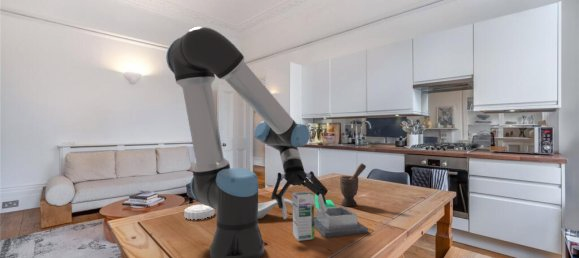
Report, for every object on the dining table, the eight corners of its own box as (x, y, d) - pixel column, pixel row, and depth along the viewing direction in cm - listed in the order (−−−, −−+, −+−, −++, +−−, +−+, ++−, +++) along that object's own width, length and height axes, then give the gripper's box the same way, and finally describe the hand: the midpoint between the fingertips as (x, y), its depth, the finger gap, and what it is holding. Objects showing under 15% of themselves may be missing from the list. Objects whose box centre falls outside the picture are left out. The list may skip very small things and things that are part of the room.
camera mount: (336, 213, 110) (336, 189, 110) (319, 213, 109) (319, 189, 109) (330, 205, 122) (330, 183, 122) (314, 205, 121) (314, 183, 121)
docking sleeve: (325, 237, 83) (324, 221, 84) (308, 221, 99) (308, 207, 99) (367, 232, 88) (367, 216, 88) (345, 217, 103) (345, 204, 103)
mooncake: (180, 215, 107) (180, 206, 107) (207, 209, 115) (207, 201, 115) (190, 222, 98) (190, 213, 98) (219, 216, 106) (219, 207, 106)
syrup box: (297, 241, 81) (297, 195, 81) (292, 234, 86) (292, 191, 86) (314, 239, 82) (314, 194, 82) (308, 232, 88) (308, 190, 88)
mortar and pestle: (361, 202, 126) (361, 161, 126) (367, 207, 117) (367, 163, 117) (338, 202, 126) (338, 161, 126) (342, 207, 117) (342, 164, 117)
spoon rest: (238, 222, 99) (238, 203, 99) (243, 212, 111) (243, 196, 111) (299, 221, 100) (299, 202, 100) (297, 211, 112) (297, 195, 112)
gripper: (319, 168, 104) (336, 216, 90) (258, 170, 97) (266, 224, 83) (324, 156, 99) (343, 205, 85) (261, 158, 92) (269, 212, 78)
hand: (305, 215), depth 83 cm, fingers open, 13 cm apart
